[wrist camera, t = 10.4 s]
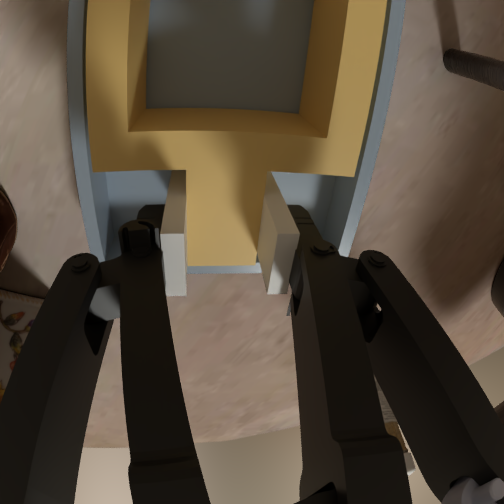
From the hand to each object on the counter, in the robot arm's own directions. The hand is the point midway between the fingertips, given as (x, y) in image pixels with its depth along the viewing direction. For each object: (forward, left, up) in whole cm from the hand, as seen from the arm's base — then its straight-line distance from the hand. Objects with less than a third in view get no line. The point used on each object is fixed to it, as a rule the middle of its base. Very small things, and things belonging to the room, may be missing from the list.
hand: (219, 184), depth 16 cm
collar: (0, -5, 0) cm, 5 cm away
